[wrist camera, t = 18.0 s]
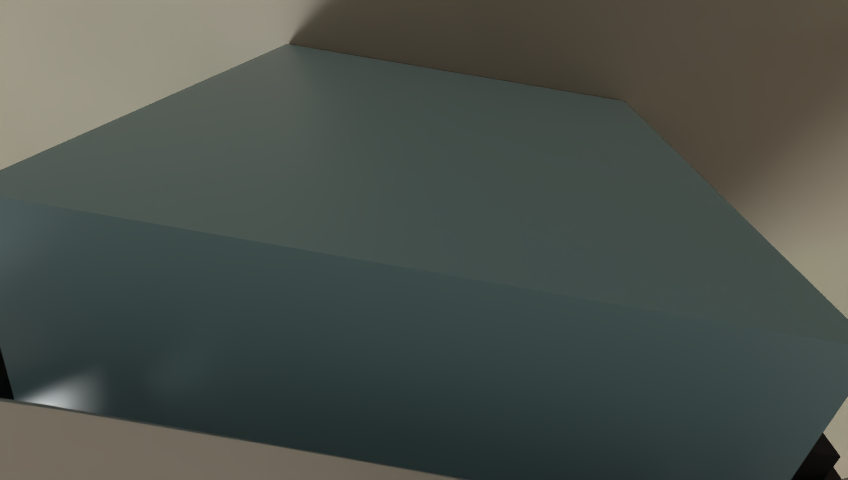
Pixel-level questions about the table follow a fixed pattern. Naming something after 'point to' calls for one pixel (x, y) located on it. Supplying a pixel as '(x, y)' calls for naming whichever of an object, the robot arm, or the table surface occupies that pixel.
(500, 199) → the matte blue-grey box
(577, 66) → the table surface
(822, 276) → the table surface
